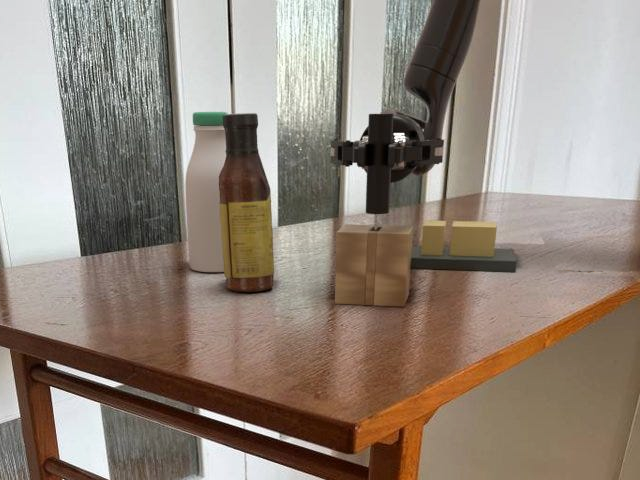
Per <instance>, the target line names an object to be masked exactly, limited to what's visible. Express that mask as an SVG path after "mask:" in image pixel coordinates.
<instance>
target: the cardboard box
mask: <svg viewBox="0 0 640 480" xmlns="http://www.w3.org/2000/svg"><path fill="white" fill-rule="evenodd" d="M335 233H336V234H335V235H336V237H335V238H336V240H335V279H334V280H335V281H334V304H335V305H336V304H337V305H355V306H356V305H357V306H375V307H399V308H405V306H406V303H407V301H408V298H409V296H410V281H411V270H412V268H411V254H412V246H413V238H414V237H413V236H414V226H413V225H389V224H387V225H386V224H384V225H383V224H379V231H374V224H344V225H343V226H341V228H340V229H338V230H337V231H336V232H335Z"/></svg>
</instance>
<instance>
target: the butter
mask: <svg viewBox="0 0 640 480" xmlns="http://www.w3.org/2000/svg"><path fill="white" fill-rule="evenodd" d="M446 229H447V220H425V221H424V223H423V224H422V231H421V233H422V234H421V245H412V254H411V269H419V270H442V271H443V270H444V271H446V270H447V271H475V272H500V273H501V272H503V273H504V272H506V273H515V272H516V271H517V257H516V253H515V249H514V248H499V247H496V240H497V239H496V238H497V229H498V225H497V221H471V220H470V221H468V220H467V221H465V220H453V221H452V224H451V235H450V245H449V246H445V243H446V241H445V240H446Z"/></svg>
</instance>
